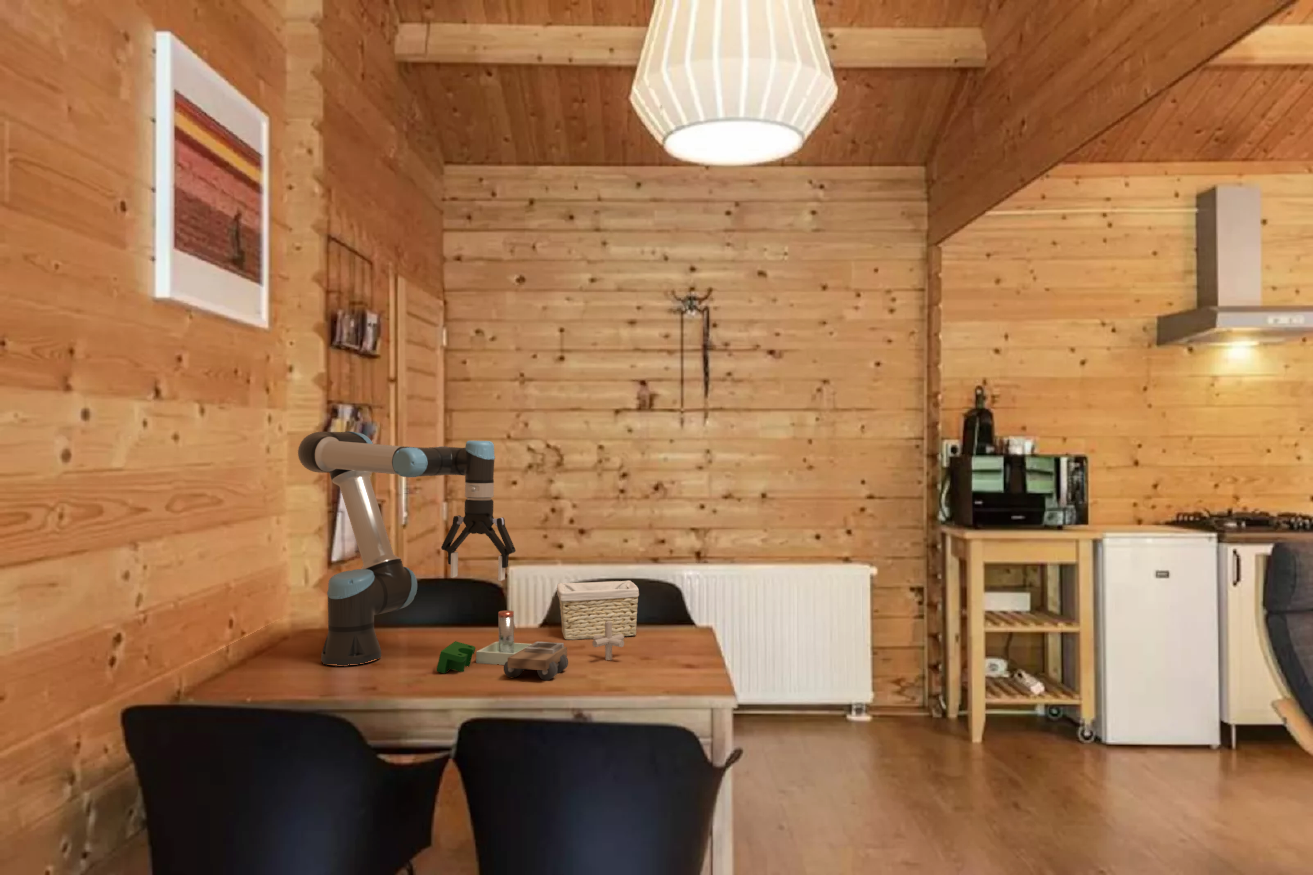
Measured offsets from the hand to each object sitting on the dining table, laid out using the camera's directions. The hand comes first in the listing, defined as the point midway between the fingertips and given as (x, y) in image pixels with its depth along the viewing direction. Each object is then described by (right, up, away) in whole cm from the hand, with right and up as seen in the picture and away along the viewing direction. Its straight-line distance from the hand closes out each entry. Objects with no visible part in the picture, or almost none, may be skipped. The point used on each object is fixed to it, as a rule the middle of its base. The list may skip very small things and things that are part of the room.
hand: (477, 578), depth 229 cm
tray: (+7, -22, +2) cm, 23 cm away
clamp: (-4, -22, -8) cm, 24 cm away
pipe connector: (+35, -22, 0) cm, 41 cm away
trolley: (+18, -22, -14) cm, 31 cm away
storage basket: (+30, -22, +32) cm, 49 cm away
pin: (+7, -21, +2) cm, 23 cm away
